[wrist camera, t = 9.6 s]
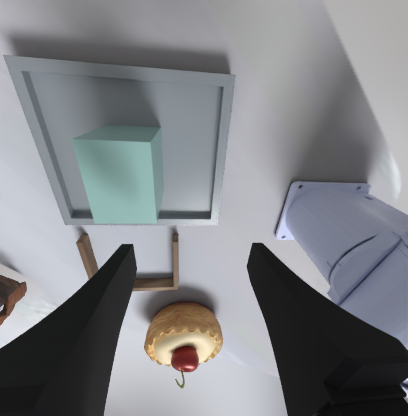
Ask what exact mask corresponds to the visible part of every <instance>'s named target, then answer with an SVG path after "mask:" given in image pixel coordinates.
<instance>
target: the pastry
mask: <svg viewBox="0 0 408 416" xmlns="http://www.w3.org/2000/svg"><path fill="white" fill-rule="evenodd" d="M222 344H223V338H222V332H221V327H220V325H219V322H218V321H217V319H216V317H215V315H214V314H213V313H212V312H211V311H210V310H209V309H208V308H207V307H205V306H204V305H201V304H198V303H194V302H179V303H174V304H171V305H168V306H166V307H164V308H163V309H161V310H160V311H159V312H158V314H157V315H156V316H155V317H154V318H153V320H152V322H151V324H150V325H149V328H148V331H147V335H146V340H145V345H144V349H145V351H146V353H147V355H148V356H149V357H150V358H151V360H152V361H154V360H156V362H157V363H158V364H160V365H161V364H166V366H170V365H171V364H172V366H173V368H175V369H176V370H178V371H181V372H182V377H183V384H182V385H180V384H179V383H178V381H177V380H176V379H175V380H176V382H177V384H178V385H179V386H180V387H181V388H183V387H184V384H185V383H184V376H183V372H192V371H194V370H195V369H196V368H197V367H198V365H200V363H201V362H207V361H208V360H209V359H210V358H214V357H215V356H216V354H217V353H219V351H220V349H221V347H222Z"/></svg>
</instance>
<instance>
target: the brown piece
mask: <svg viewBox="0 0 408 416" xmlns="http://www.w3.org/2000/svg"><path fill="white" fill-rule="evenodd" d="M26 291H27V287H26V282H22V283H19V282H18V281H15V280H13V279H10V278H7V277H4V276H2V275H0V307H1V306H2V305H3V304H4V307H3V310H2V311H0V325H1V324H2V323H3V321H4V320H5V319H6V318H7V317H8V316H9V315H10V313H11V312H12V310H13V309H14V306H15V303H17V302H18V301H19V300H20V299H21V298H22V297H23V296H25V292H26Z"/></svg>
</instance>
